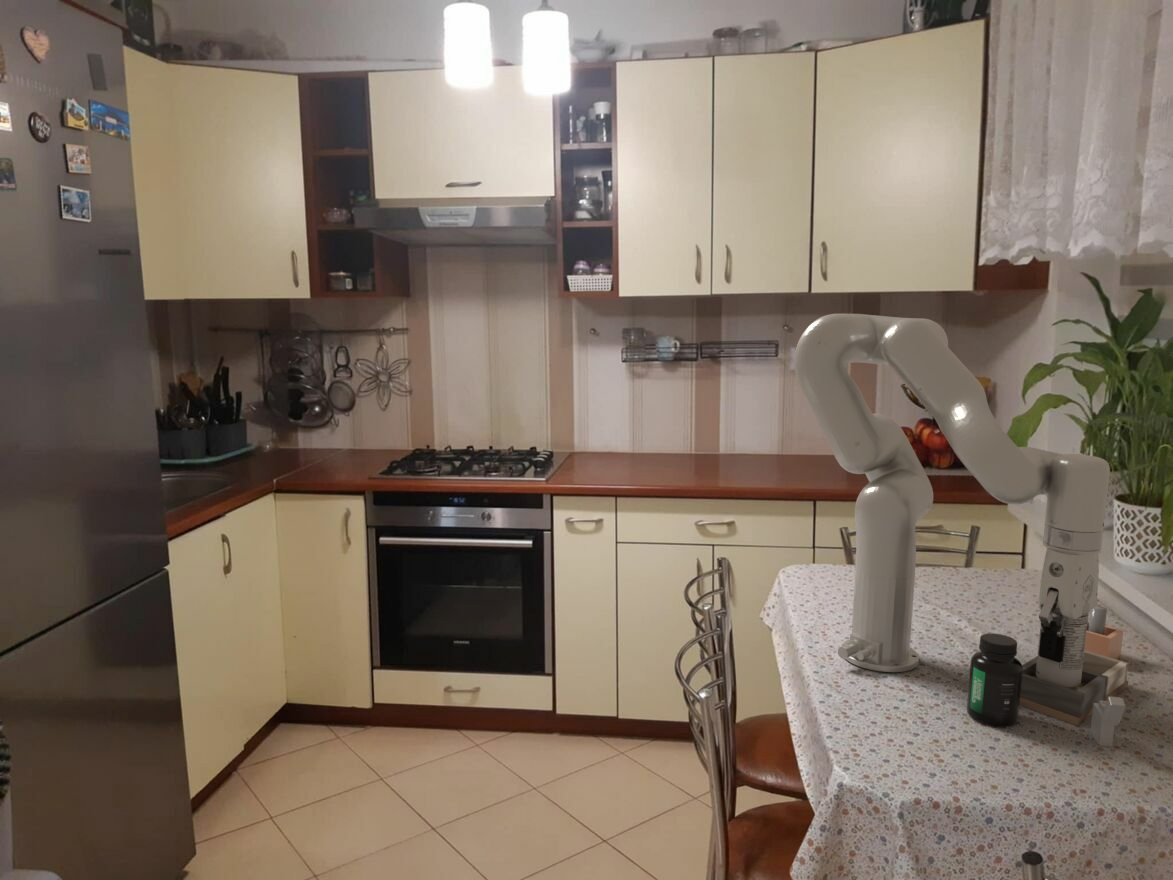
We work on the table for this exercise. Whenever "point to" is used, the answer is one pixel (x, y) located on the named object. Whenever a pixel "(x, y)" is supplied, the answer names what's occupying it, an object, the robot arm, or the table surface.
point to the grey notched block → (1106, 719)
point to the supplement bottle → (995, 681)
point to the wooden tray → (1070, 704)
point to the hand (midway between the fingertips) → (1060, 652)
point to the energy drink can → (1067, 654)
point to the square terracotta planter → (1102, 635)
